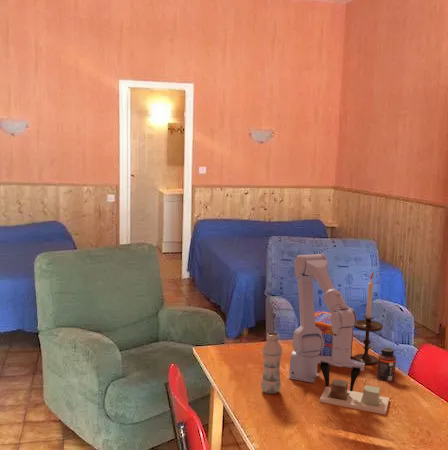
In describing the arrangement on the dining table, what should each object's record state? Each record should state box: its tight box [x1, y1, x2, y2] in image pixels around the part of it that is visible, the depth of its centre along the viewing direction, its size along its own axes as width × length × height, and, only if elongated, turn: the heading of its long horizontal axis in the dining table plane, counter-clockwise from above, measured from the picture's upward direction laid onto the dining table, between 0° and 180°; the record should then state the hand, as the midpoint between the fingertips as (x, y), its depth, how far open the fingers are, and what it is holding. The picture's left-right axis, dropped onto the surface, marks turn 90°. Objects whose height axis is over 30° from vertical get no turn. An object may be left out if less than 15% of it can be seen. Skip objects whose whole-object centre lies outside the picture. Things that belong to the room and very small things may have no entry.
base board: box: [319, 386, 390, 415], centre depth 175 cm, size 20×10×2 cm, turn 68°
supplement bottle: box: [376, 347, 397, 383], centre depth 195 cm, size 6×6×11 cm
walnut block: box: [330, 378, 349, 400], centre depth 177 cm, size 4×4×5 cm
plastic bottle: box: [260, 331, 283, 395], centre depth 182 cm, size 6×7×20 cm
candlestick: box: [353, 271, 384, 366], centre depth 211 cm, size 11×11×35 cm
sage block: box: [362, 384, 381, 407], centre depth 173 cm, size 4×4×5 cm
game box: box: [306, 310, 354, 368], centre depth 215 cm, size 16×16×16 cm
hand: (339, 387), depth 176 cm, fingers open, 7 cm apart
